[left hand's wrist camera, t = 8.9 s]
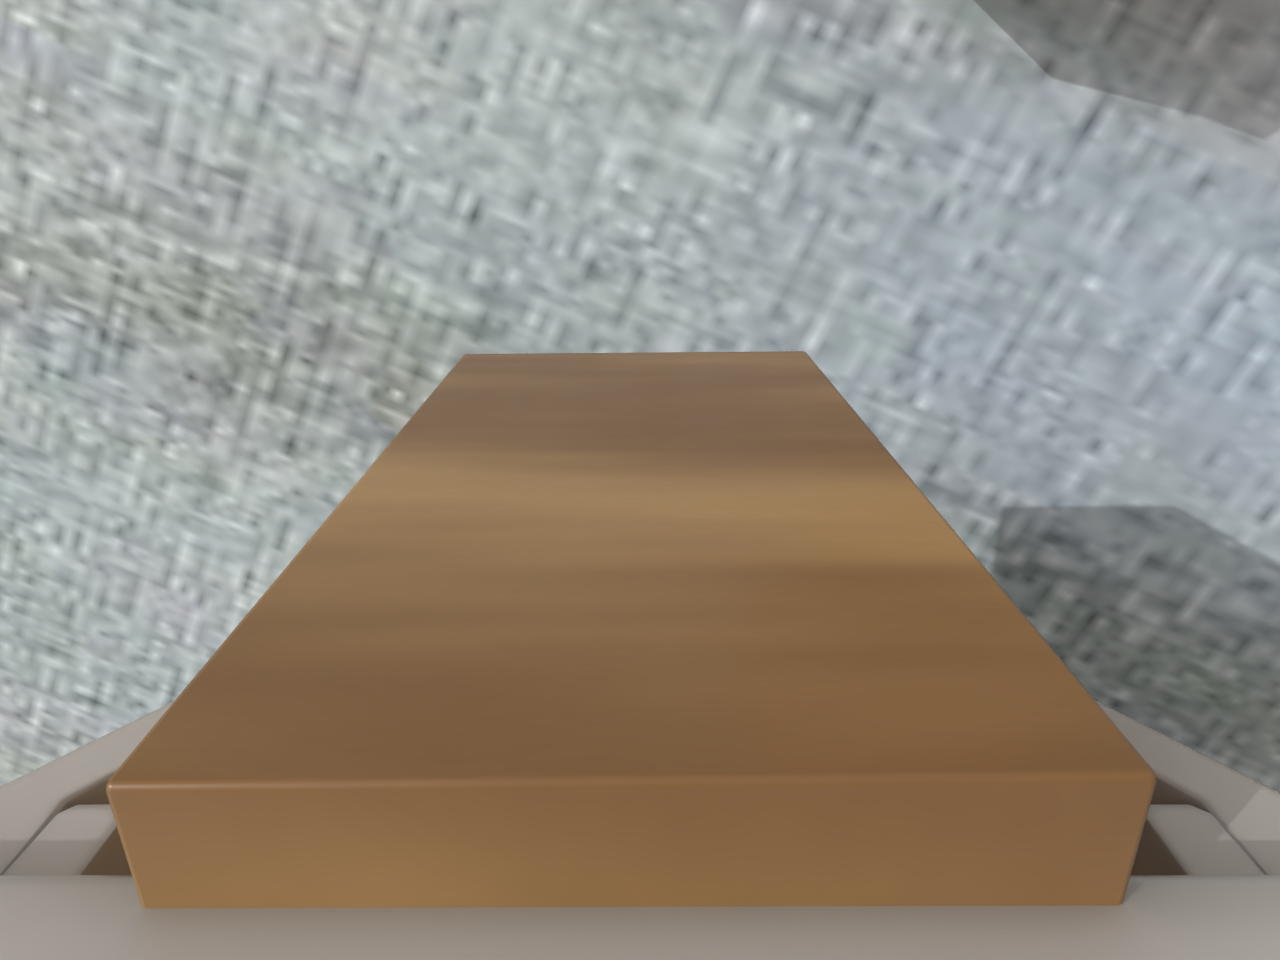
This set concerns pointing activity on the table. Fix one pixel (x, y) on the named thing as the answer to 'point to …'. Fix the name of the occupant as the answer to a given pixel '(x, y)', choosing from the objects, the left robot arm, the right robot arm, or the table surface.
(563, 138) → the table surface
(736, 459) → the box
